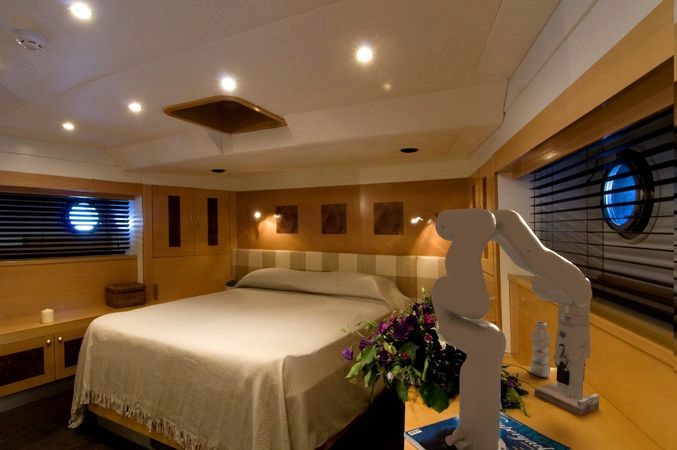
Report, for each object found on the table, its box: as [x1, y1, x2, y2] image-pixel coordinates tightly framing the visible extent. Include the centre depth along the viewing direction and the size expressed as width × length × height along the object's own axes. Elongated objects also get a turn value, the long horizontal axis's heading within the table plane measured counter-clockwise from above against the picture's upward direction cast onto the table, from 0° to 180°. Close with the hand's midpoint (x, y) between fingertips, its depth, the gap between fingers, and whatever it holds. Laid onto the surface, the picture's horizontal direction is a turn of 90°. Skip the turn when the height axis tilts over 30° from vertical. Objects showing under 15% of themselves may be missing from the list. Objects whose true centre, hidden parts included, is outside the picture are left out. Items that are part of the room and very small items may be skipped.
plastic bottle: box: [529, 320, 552, 378], centre depth 127 cm, size 6×7×20 cm
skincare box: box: [556, 356, 585, 400], centre depth 97 cm, size 6×4×12 cm
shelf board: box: [534, 382, 600, 417], centre depth 108 cm, size 10×14×4 cm
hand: (570, 380), depth 97 cm, fingers closed on skincare box, 6 cm apart
